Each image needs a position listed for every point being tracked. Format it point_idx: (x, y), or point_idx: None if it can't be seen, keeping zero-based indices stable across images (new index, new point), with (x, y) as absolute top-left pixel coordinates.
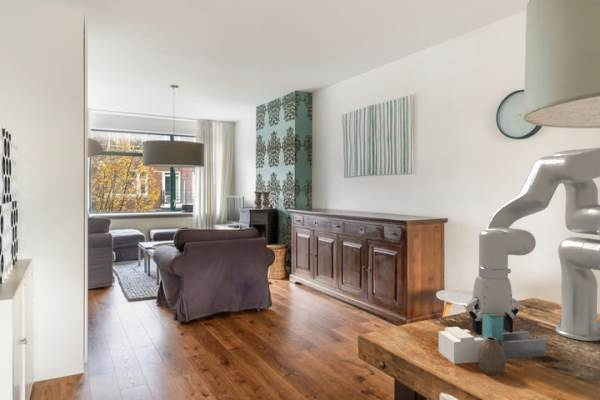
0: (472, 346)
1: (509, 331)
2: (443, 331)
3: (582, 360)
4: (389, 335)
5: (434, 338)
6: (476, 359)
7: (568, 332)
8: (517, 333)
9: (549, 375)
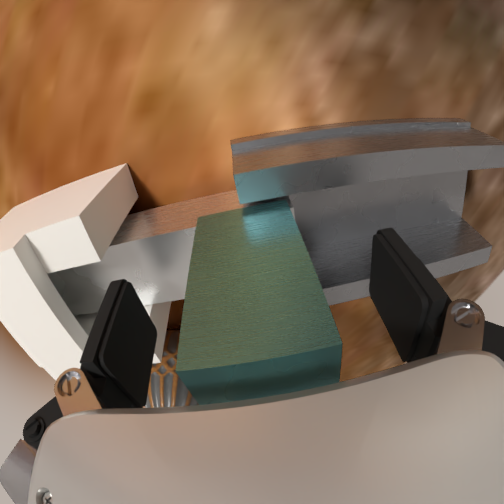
0: None
1: (371, 292)
2: None
3: (498, 256)
4: None
5: (13, 40)
6: None
7: None
8: (456, 170)
9: (344, 350)
